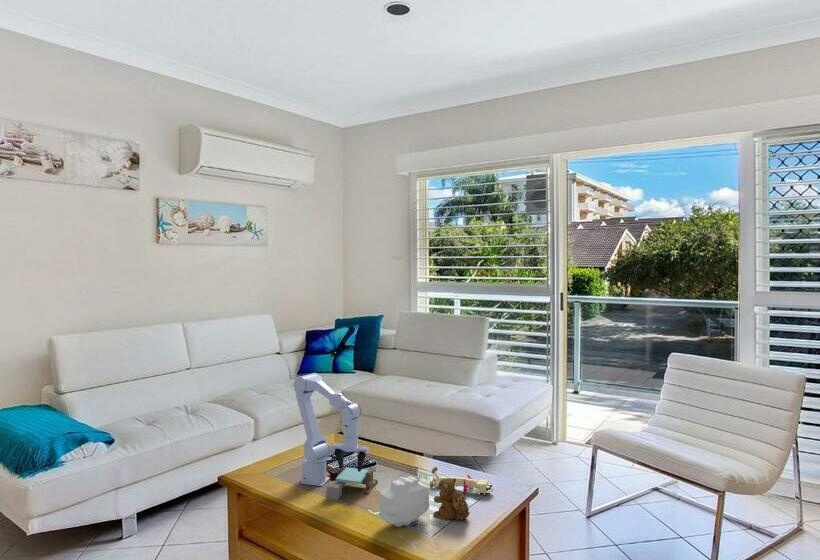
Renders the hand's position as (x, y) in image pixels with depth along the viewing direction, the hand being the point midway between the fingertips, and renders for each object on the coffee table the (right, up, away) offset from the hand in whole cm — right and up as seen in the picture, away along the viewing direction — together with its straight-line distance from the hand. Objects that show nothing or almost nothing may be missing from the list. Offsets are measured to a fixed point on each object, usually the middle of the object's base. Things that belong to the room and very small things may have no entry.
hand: (350, 469), depth 202 cm
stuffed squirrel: (+39, -11, -17) cm, 44 cm away
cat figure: (+44, -10, +5) cm, 45 cm away
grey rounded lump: (+21, -11, -22) cm, 32 cm away
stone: (-6, -10, -3) cm, 12 cm away
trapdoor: (+1, -7, +3) cm, 8 cm away
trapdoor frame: (+2, -9, +7) cm, 12 cm away
